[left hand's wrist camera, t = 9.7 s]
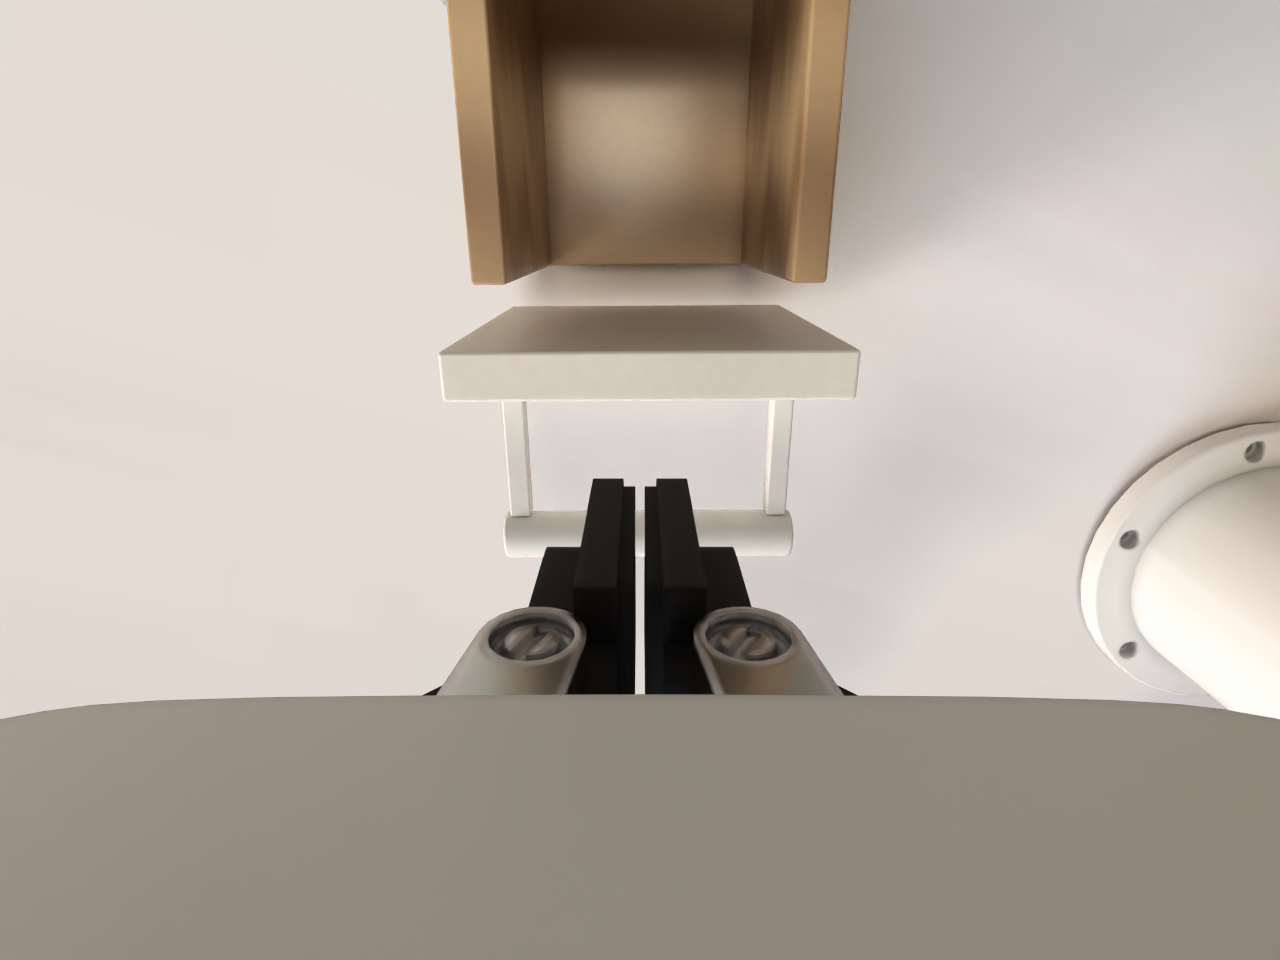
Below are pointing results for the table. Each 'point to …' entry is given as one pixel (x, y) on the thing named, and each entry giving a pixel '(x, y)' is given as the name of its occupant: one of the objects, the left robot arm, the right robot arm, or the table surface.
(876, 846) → the left robot arm
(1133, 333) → the table surface
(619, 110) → the drawer
